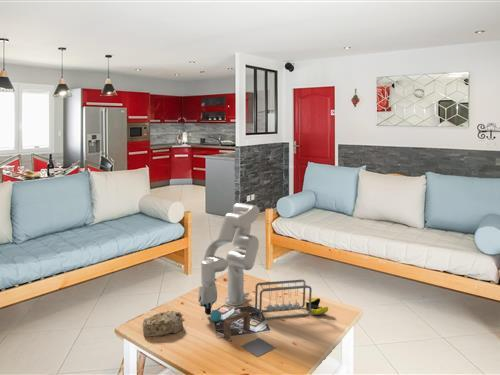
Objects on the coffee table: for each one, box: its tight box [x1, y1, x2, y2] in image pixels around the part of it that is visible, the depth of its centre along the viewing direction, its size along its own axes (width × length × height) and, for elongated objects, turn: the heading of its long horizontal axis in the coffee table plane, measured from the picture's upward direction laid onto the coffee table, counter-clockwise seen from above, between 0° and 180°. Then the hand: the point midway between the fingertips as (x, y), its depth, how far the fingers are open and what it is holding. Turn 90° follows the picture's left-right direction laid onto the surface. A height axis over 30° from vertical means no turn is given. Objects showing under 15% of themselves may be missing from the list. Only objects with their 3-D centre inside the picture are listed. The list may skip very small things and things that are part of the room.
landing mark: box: [240, 337, 277, 358], centre depth 199 cm, size 12×12×1 cm
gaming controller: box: [305, 297, 329, 316], centre depth 237 cm, size 15×6×10 cm
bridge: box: [223, 310, 251, 341], centre depth 210 cm, size 3×15×10 cm, turn 132°
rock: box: [142, 310, 184, 338], centre depth 213 cm, size 21×14×10 cm
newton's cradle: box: [254, 279, 313, 321], centre depth 232 cm, size 30×10×18 cm, turn 104°
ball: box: [209, 309, 222, 323], centre depth 223 cm, size 6×6×6 cm
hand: (208, 313), depth 229 cm, fingers closed
